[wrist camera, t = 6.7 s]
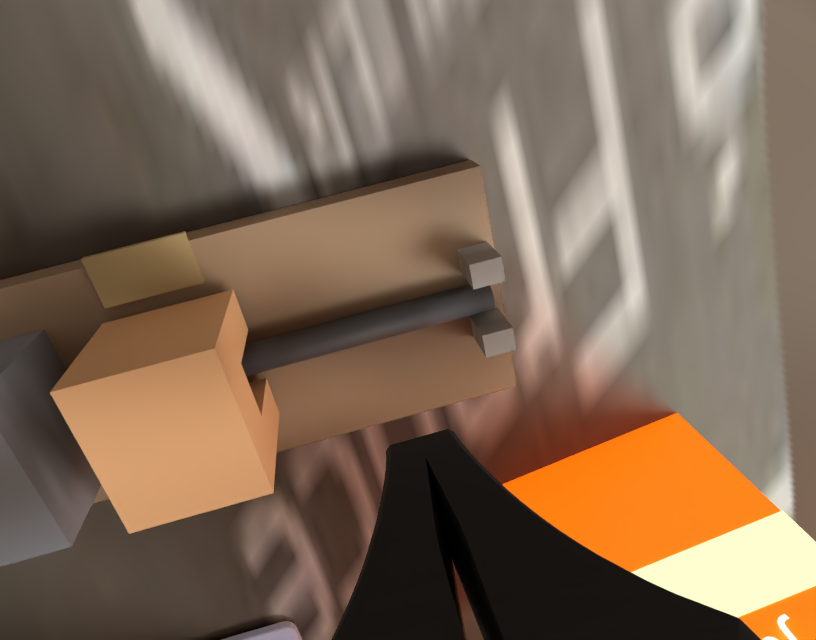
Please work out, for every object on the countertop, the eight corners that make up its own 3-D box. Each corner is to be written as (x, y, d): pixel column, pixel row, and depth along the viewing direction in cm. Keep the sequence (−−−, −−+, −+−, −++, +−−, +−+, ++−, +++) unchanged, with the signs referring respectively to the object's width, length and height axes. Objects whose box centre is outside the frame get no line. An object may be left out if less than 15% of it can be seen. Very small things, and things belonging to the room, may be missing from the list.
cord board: (507, 377, 23) (560, 459, 18) (62, 499, 22) (-4, 621, 17) (469, 150, 19) (522, 179, 14) (-67, 286, 18) (-197, 366, 13)
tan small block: (279, 412, 20) (273, 492, 16) (162, 445, 20) (129, 533, 16) (233, 289, 18) (214, 348, 14) (102, 323, 18) (49, 392, 14)
